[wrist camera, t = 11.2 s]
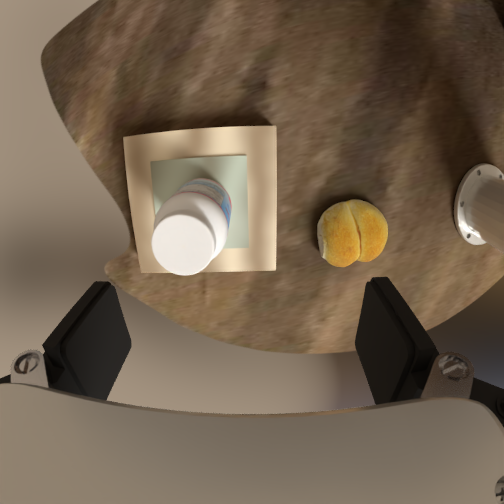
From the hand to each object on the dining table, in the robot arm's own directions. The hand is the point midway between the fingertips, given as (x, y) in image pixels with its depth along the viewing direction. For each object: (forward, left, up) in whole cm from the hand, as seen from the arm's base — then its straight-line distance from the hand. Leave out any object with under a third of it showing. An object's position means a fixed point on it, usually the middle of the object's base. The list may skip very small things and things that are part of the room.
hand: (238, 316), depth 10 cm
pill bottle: (+4, +1, -22) cm, 22 cm away
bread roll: (-13, +6, -25) cm, 29 cm away
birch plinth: (+5, +1, -25) cm, 25 cm away
